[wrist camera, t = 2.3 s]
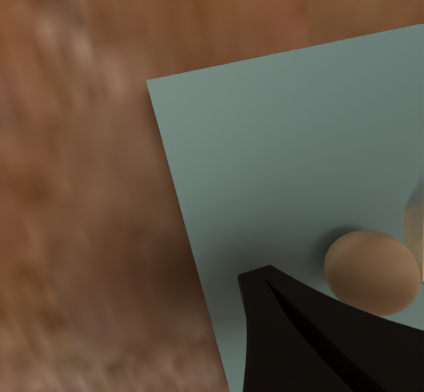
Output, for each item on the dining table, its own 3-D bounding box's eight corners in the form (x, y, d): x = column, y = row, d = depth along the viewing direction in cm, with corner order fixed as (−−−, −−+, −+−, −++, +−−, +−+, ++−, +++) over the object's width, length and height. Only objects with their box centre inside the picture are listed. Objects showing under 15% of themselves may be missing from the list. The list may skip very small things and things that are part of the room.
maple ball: (371, 210, 11) (447, 240, 8) (374, 272, 12) (443, 319, 9) (304, 230, 10) (358, 269, 8) (312, 293, 11) (364, 349, 8)
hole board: (519, 13, 13) (603, -15, 10) (491, 290, 17) (544, 316, 15) (149, 91, 10) (145, 80, 8) (228, 385, 15) (241, 434, 13)
